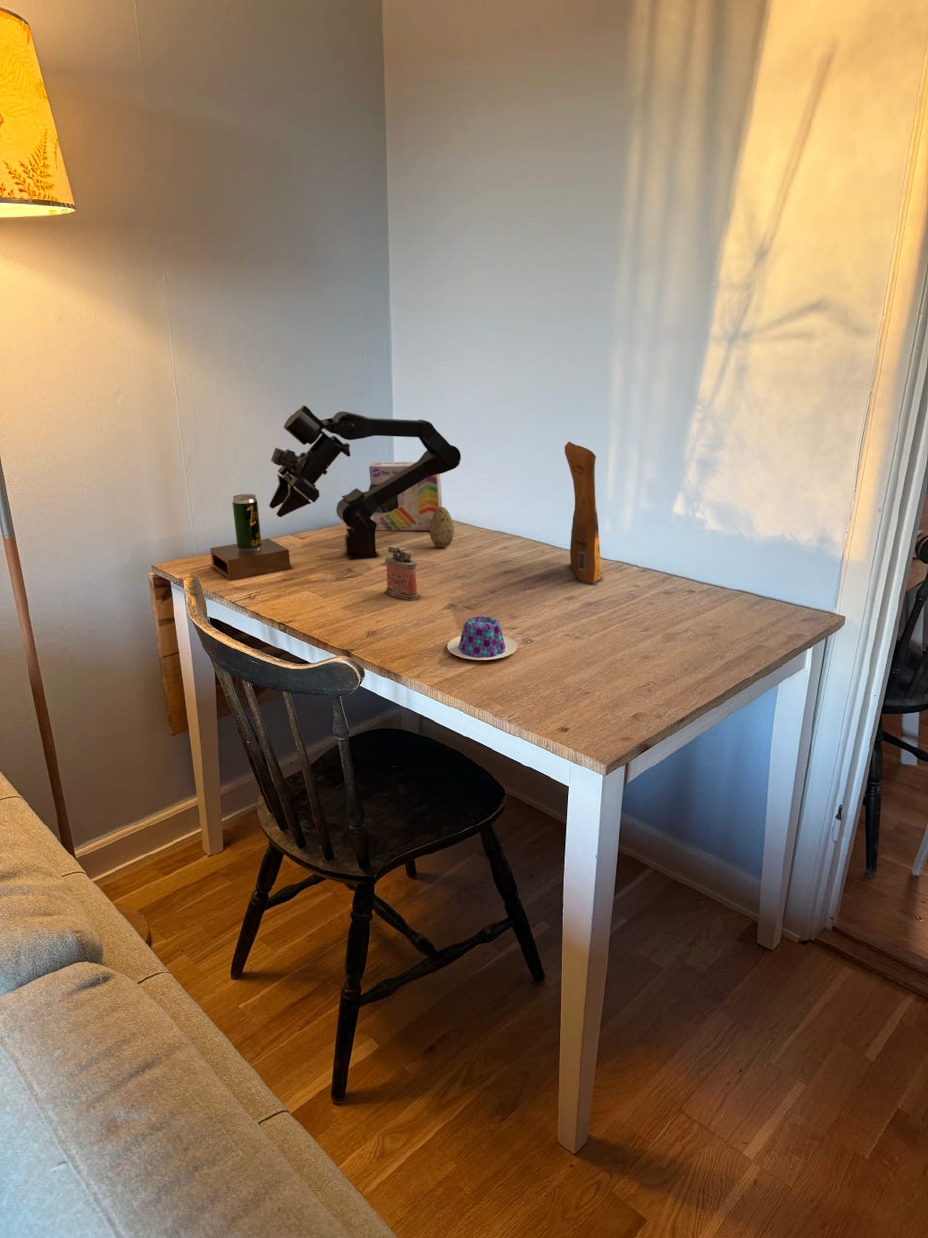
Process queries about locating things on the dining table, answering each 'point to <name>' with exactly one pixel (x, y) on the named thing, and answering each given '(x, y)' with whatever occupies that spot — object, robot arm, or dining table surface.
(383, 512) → the cake pan box
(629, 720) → the dining table surface
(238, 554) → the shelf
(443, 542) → the decorative egg
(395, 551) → the lighter
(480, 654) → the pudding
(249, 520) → the beer can
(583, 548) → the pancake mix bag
